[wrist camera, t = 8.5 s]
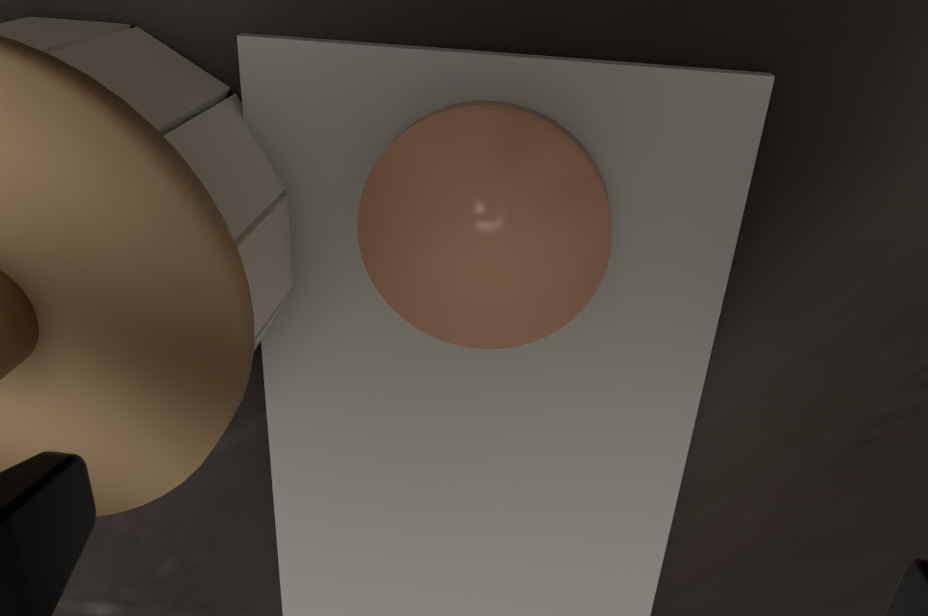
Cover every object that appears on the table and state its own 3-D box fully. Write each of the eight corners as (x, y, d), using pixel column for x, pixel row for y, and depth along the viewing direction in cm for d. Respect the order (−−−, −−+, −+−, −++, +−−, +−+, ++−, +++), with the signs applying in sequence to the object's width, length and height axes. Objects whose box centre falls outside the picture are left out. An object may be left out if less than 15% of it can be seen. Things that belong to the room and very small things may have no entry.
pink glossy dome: (631, 117, 18) (634, 128, 17) (588, 344, 21) (588, 365, 20) (370, 85, 18) (360, 95, 17) (363, 313, 21) (354, 331, 20)
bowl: (284, 35, 18) (204, 74, 14) (303, 394, 23) (247, 498, 19) (-116, 5, 19) (-296, 34, 15) (-19, 357, 24) (-138, 449, 20)
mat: (770, 72, 17) (775, 76, 17) (633, 676, 27) (633, 687, 26) (243, 33, 18) (236, 35, 18) (288, 627, 28) (284, 636, 27)
